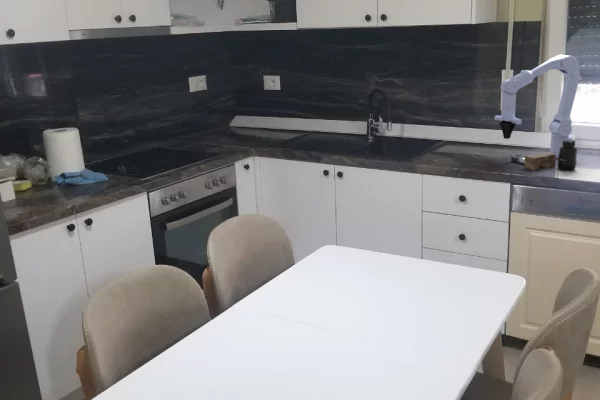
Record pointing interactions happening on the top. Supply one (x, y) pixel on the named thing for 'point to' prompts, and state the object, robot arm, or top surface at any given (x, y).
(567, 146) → the supplement bottle
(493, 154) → the top surface
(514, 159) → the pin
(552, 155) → the block
